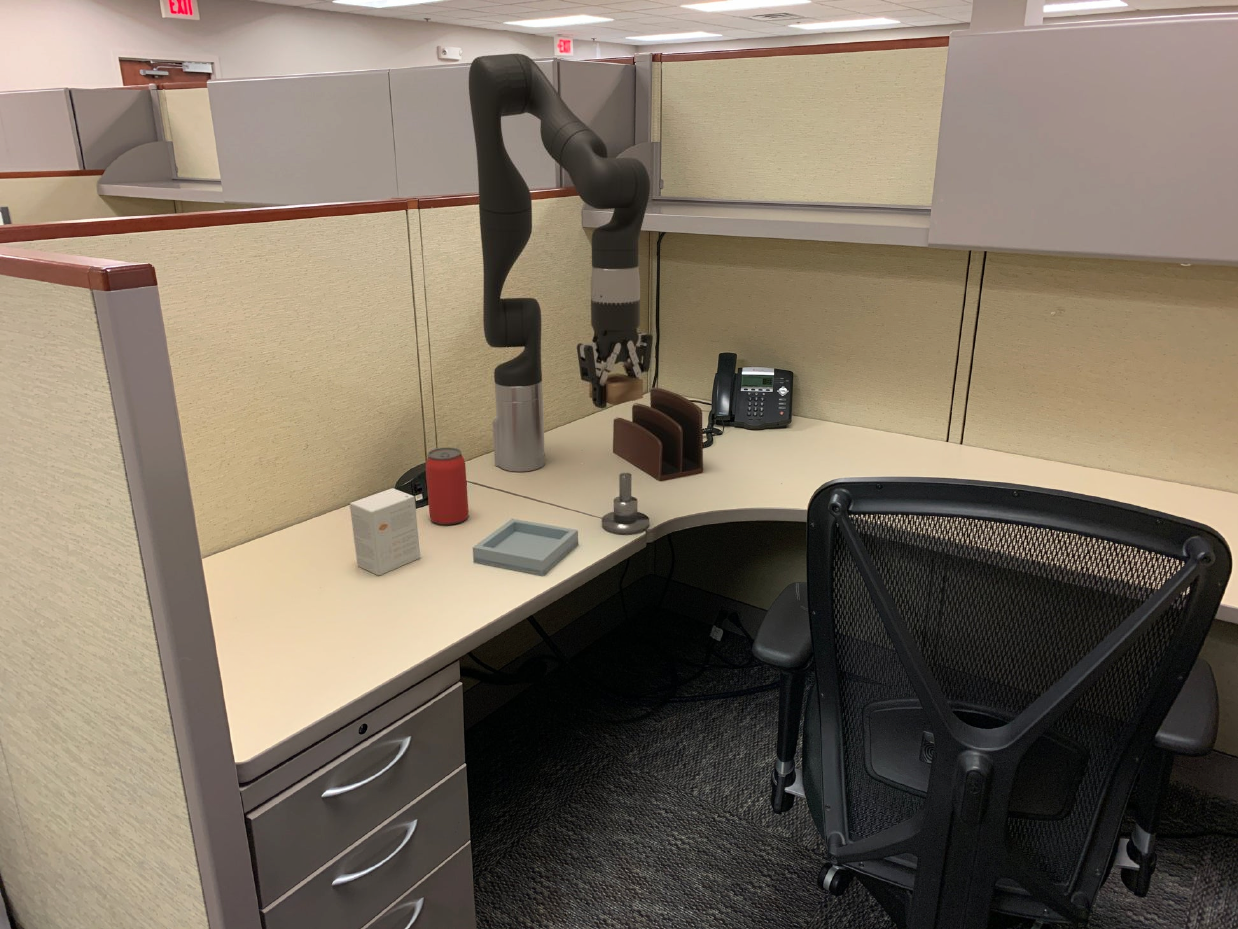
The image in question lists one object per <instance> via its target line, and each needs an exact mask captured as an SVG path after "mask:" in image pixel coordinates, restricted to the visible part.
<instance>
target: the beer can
mask: <svg viewBox="0 0 1238 929" xmlns="http://www.w3.org/2000/svg"><path fill="white" fill-rule="evenodd" d="M466 470H467V468H466V461H465V458H464V457H463V455H462V451H461V449H459V448H458V447H449V446H448V447H438V448H434V449H431V450H430V451H428V452H427V458H426V463H425V475H426V476H425V479H426V489H427V499H428V500H427V501H428V511H429V512H428V513H429V519H430V520H431V522H434V523H435V524H437V525H441V526H442V525H443V526H445V525H448V526H449V525H456V524H460V523H462V522H464V521H465V520H466V519H467V518H469V514H470V513H469V499H468V486H467V483H468V482H467V471H466Z"/></svg>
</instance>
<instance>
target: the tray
mask: <svg viewBox="0 0 1238 929" xmlns="http://www.w3.org/2000/svg"><path fill="white" fill-rule="evenodd" d="M577 546H579V530H578V529H575V528H567V527H563V526H562V527H561V526H557V525H556V526H555V525H551V524H545V523H541V522H540V523H539V522H534V521H528V520H523V519H522V520H521V519H517V518H510V520H508V521H507V522H505V523H504V524H503V525H501V526H500V527H499V528H497V529H495V531H493V532H492V533H490V534H489V535H488V536H486V537H485V538H483V539H482V540H481V541H479V542H478V543H477V544H475V545H474V546H472V557H473V558H472V560H473V563H476V564H481V565H485V566H486V565H487V566H491V567H496V568H501V569H506V570H510V571H516V572H521V573H527V574H531V575H536V576H541V577H543V576H545V575H546V574H547V573H548V572H549V571H550V570H551V569H553V568H554V567H555V566H556V565H557V564H558V563H559V562H560V561H561V560H563V559H564V558H565V557H566V556H567V555H568V554H569V553H570V552H571V551H573V549H575V548H576V547H577Z"/></svg>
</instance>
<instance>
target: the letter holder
mask: <svg viewBox="0 0 1238 929" xmlns="http://www.w3.org/2000/svg"><path fill="white" fill-rule="evenodd" d="M649 393H650V394H649V395H650V396H649V397H650V398H649V400H650V402H649V403H650V406H648V405H646V404H643V403H642V404H641V403H637V402H635V403H632V406H631V418H632V419H631V420H628V419H625V418H623V417H615V418H614V419H613V422H612V424H613V426H612V428H613V430H612V431H613V432H612V433H613V434H612V436H613V437H612V453H614V454H615V455H617V456H619V457H620V458H622V459H624V460H625V461H627V462H628V463H630V464H631V465H633V466H634V467H636V468H638V469H640V470H641V471H643V472H644V473H646V474H648V475H650V476H651V477H652V478H654V479H656V480H658V481H659V482H663V481H668V480H673V479H674V480H675V479H680V478H684V477H689V476H695V475H700V474H702V473H703V472H704V433H703V432H704V430H703V411H702V408H701V407H700V406H698V404H695V403H694V402H693V401H691V400H689V399H688V398H687V397H684V396H683V395H680V394H679V393H676V392H673V391H670V390H667V389H663V388H661V387H654V386H653V387H651V388H650V392H649Z"/></svg>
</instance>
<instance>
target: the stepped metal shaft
mask: <svg viewBox="0 0 1238 929" xmlns="http://www.w3.org/2000/svg"><path fill="white" fill-rule="evenodd" d="M618 475H619V477H618V478H619V479H618V480H619V483H618V486H619V496H616V497H615V498H614V499H613V511H611V512H608V513H606V514H605V515H603V516H602V517H601V528H602V529H603V530H604V531H606V532H608V533H610V534H614V535H622V536H629V535H631V536H632V535H637V534H641V533H643V532H645V531H647V530H648V529H649V528H650V517H649V516H648V515H647V514H645V513H643V512H640V511H638V502H639V501H638V499H637V497H634V496H632V474H631V473H630V472H621V473H619V474H618Z"/></svg>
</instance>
